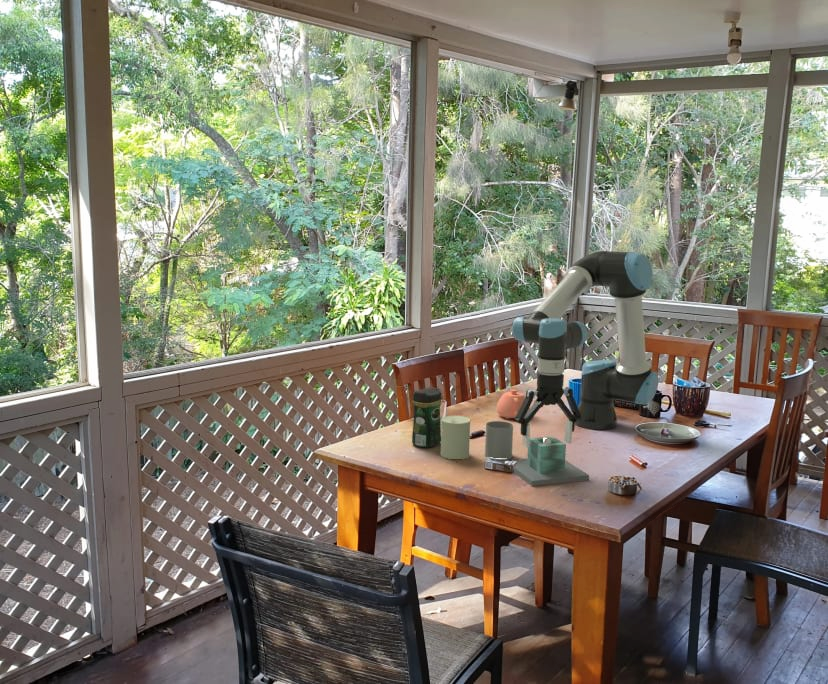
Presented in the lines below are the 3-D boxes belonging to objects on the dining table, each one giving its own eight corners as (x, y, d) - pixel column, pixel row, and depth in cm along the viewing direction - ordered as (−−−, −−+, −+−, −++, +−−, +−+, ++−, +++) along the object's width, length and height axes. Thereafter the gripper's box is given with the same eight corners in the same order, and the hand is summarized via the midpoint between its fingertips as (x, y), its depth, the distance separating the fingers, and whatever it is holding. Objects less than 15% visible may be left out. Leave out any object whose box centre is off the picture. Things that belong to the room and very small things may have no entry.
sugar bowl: (526, 412, 291) (527, 386, 289) (533, 422, 277) (534, 395, 275) (494, 412, 291) (495, 385, 289) (499, 422, 277) (500, 394, 275)
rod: (547, 466, 226) (549, 436, 224) (551, 468, 223) (553, 438, 222) (540, 466, 225) (541, 437, 223) (544, 469, 223) (545, 439, 221)
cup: (484, 451, 243) (485, 420, 242) (510, 451, 243) (511, 421, 241) (485, 459, 235) (487, 428, 233) (512, 460, 235) (514, 429, 233)
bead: (551, 462, 229) (552, 436, 228) (564, 470, 222) (566, 444, 220) (527, 464, 227) (528, 438, 225) (539, 473, 219) (540, 446, 218)
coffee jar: (424, 438, 256) (426, 384, 252) (444, 443, 251) (446, 387, 248) (407, 445, 248) (408, 389, 245) (427, 450, 243) (428, 393, 240)
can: (435, 457, 236) (436, 419, 234) (445, 449, 245) (446, 412, 243) (464, 461, 233) (465, 423, 231) (473, 452, 241) (474, 415, 239)
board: (558, 460, 236) (558, 455, 235) (588, 480, 219) (589, 475, 218) (504, 465, 230) (504, 460, 230) (531, 486, 213) (532, 480, 213)
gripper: (516, 377, 212) (513, 451, 216) (595, 373, 220) (591, 444, 223) (505, 372, 219) (502, 443, 223) (582, 368, 227) (578, 437, 230)
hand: (547, 444), depth 223 cm, fingers open, 13 cm apart
